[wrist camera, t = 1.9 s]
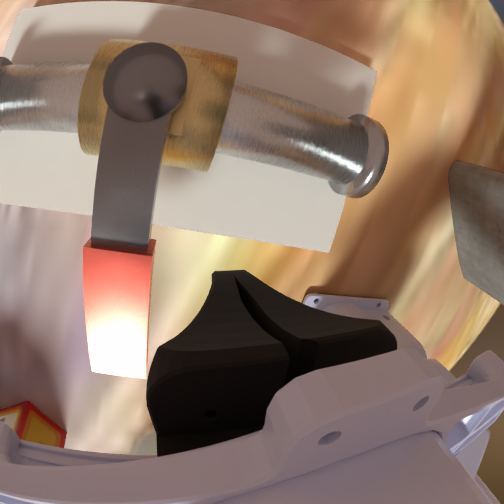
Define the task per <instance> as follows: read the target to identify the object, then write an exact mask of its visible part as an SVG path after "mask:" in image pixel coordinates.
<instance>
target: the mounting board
mask: <svg viewBox="0 0 504 504" xmlns="http://www.w3.org/2000/svg"><path fill="white" fill-rule="evenodd" d="M109 39H127V40H140V41H150V42H159V43H167V44H174V45H180V46H187V47H192V48H198V49H203V50H208V51H213V52H218V53H222V54H227V55H231V56H235V57H237V58H238V65H237V72H236V77H235V81H236V82H240V83H244V84H247V85H251V86H255V87H259V88H262V89H266V90H269V91H272V92H276V93H279V94H282V95H285V96H288V97H292V98H295V99H298V100H301V101H303V102H306V103H309V104H312V105H315V106H317V107H320V108H323V109H325V110H328V111H331V112H333V113H336V114H338V115H341V116H343V117H346V118H349V117H350V116H352V115H355V114H363V115H365V116H368V111H369V107H370V102H371V98H372V93H373V88H374V83H375V78H376V73H377V71H375V70H373V69H371V68H370V67H368V66H366V65H364V64H362V63H360V62H358V61H356V60H354V59H352V58H350V57H348V56H346V55H343V54H341V53H339V52H337V51H335V50H332V49H330V48H328V47H325V46H323V45H321V44H318V43H316V42H313V41H311V40H308V39H306V38H303V37H300V36H298V35H295V34H292V33H289V32H287V31H284V30H281V29H278V28H275V27H271V26H268V25H265V24H262V23H258V22H255V21H251V20H247V19H243V18H240V17H236V16H231V15H227V14H223V13H218V12H213V11H208V10H203V9H197V8H191V7H184V6H177V5H169V4H160V3H148V2H132V1H89V2H73V3H62V4H53V5H45V6H39V7H33V8H27V9H22V10H20V12H19V14H18V16H17V18H16V21H15V23H14V26H13V28H12V31H11V33H10V36H9V39H8V41H7V44H6V47H5V50H4V53H3V56H2V57H6V58H8V59H9V60H10V61H11V62H12V64H23V63H35V62H55V61H92V60H93V58H94V56H95V54H96V53H97V51H98V50H99V49H100V47H101V46H102V45H103V44H104V43H105V42H106V41H108V40H109ZM98 158H99V156H93V155H86V154H85V153H84V152H83V151H82V149H81V146H80V143H79V138H78V133H67V132H50V131H24V130H2V131H1V132H0V203H2V204H10V205H17V206H25V207H32V208H40V209H47V210H54V211H62V212H69V213H76V214H83V215H90V216H92V214H93V201H94V190H95V181H96V172H97V165H98ZM346 197H347V196H344V195H340V194H337V193H335V192H334V191H333V190H332V189H331V187H330V185H329V183H328V181H327V180H324V179H321V178H317V177H313V176H310V175H306V174H303V173H299V172H295V171H291V170H288V169H284V168H280V167H276V166H272V165H268V164H263V163H259V162H255V161H251V160H246V159H242V158H237V157H233V156H228V155H223V154H218V153H215V154H214V157H213V160H212V163H211V165H210V167H209V169H208V171H207V172H201V171H196V170H190V169H185V168H179V167H173V166H166V165H161V169H160V175H159V181H158V187H157V194H156V200H155V207H154V214H153V222H152V225H158V226H165V227H171V228H178V229H184V230H191V231H197V232H204V233H210V234H217V235H223V236H229V237H236V238H242V239H248V240H254V241H261V242H267V243H273V244H279V245H285V246H291V247H297V248H303V249H309V250H315V251H321V252H327V253H329V251H330V248H331V245H332V242H333V239H334V236H335V233H336V230H337V226H338V223H339V220H340V217H341V213H342V210H343V207H344V203H345V200H346Z"/></svg>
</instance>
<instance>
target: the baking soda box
mask: <svg viewBox="0 0 504 504" xmlns="http://www.w3.org/2000/svg"><path fill="white" fill-rule="evenodd" d="M0 421H2V422H4V423H6V424H7V425H9V426H10V427H11V428H12V429H13V430H14V431H15V432H16V434H17V435H18V437H19V438H20V439H21V440H25V441H29V442H34V443H38V444H43V445H48V446H54V447H59V448H64V445H65V439H66V434H67V433H66V432H65V431H63V430H62V429H61V428H60V427H58V426H57V425H56V424H55V423H53V422H52V421H51V420H50V419H49V418H47V417H46V416H45V415H44V414H43V413H41V412H40V411H39V410H38V409H37V408H36V407H35V406H33V405H32V404H31V403H30V402H29V401H26V402H23V403H20V404H17V405H14V406H11V407H8V408H5V409H2V410H0Z"/></svg>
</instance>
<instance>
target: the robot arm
mask: <svg viewBox="0 0 504 504" xmlns="http://www.w3.org/2000/svg"><path fill="white" fill-rule="evenodd" d="M315 299H317V300H316V301H314V300H315ZM377 304H378V305H377ZM389 305H390V302H389V301H388V300H387V299H375V298H361V297H349V296H336V295H325V294H314V293H310V294H307V295H306V296H305V298H304V301H303V303H300V302H298V301H295V300H293V299H291V298H289V297H287V296H285V295H283V294H282V293H280V292H278V291H276V290H275V289H273V288H271V287H270V286H268V285H267V284H265V283H263V282H262V281H260V280H259V279H258V278H256V277H255V276H253V275H252V274H250V273H249V272H247V271H245V270H233V271H215V272H213V273H212V285H211V288H210V291H209V294H208V296H207V299H206V301H205V303H204V305H203V306H202V308H201V310H200V311H199V313H198V314H197V316H196V317H195V318H194V319H193V321H192V322H191V323H190V324H189V325H188V326H187V327H186V328H185V329H184V330H183V331H182V332H181V333H180V334H178V335H177V336H176V337H174V338H173V339H171V340H169V341H168V342H166V343H164V344H163V345H161V346H159V347H158V349H157V351H156V353H155V356H154V358H153V361H152V364H151V367H150V371H149V375H148V380H147V392H146V400H147V407H148V411H149V414H150V417H151V420H152V423H153V425H154V428H155V431H156V434H157V455H123V454H108V453H97V452H87V451H79V450H72V449H65V448H59V447H54V446H48V445H43V444H38V443H34V442H29V441H25V440H21V439H20V438H19V437H18V435H17V434H16V432H15V431H14V430H13V429H12V428H11V427H10V426H9V425H7V424H6V423H4V422H2V421H0V504H500V503H499V501H498V500H497V499H496V497H495V496H494V495H493V494H492V492H491V491H490V490H489V489H488V487H487V486H486V485H485V484H484V482H483V481H482V480H481V479H480V477H479V476H478V475H477V470H478V468H479V465H480V463H481V460H482V457H483V455H484V452H485V449H486V446H487V443H488V440H489V437H490V431H489V429H488V427H489V426H490V425H491V424H492V423H493V422H495V420H496V419H497V418H498V417H499V415H500V414H501V413H502V411H503V410H504V362H503V361H502V360H501V359H500V358H499V357H498V356H497V355H496V354H494V353H493V352H492V351H491V350H488V351H486V352H484V353H483V354H481V355H479V356H478V357H477V358H475V359H474V361H473V362H472V364H471V365H470V367H469V369H468V371H467V373H466V374H464V375H463V376H461V377H459V378H457V379H456V378H455V377H454V376H453V375H452V374H451V373H450V372H449V371H448V370H447V369H446V368H445V367H444V366H443V365H442V364H441V363H439V362H438V361H437V360H435V359H428V360H427V356H426V353H425V350H424V348H423V346H422V345H421V343H420V342H419V341H418V340H417V339H416V338H415V337H414V336H413V335H412V334H411V333H410V332H409V331H408V330H406V329H405V328H404V327H403V326H402V325H401V324H400V323H399V322H398V321H397V320H396V319H395V318H394V317H393V316H392V315H391V314H390V313H389V312H388V311H387V309H388V307H389Z"/></svg>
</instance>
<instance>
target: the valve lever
mask: <svg viewBox="0 0 504 504" xmlns="http://www.w3.org/2000/svg"><path fill="white" fill-rule="evenodd" d="M187 76H188V75H187V68H186V65H185V62H184V60H183V59H182V57H181V56H180V55H179V53H178V52H176V51H175V50H174V49H173V48H171V47H169V46H167V45H164V44H161V43H156V42H146V43H140V44H137V45H134V46H131V47H129V48H127V49H126V50H124V51H123V52H121V53H120V54H119V55H118V56H117V57H116V58H115V59H114V60H113V61H112V62H111V64H110V65H109V67H108V69H107V71H106V73H105V76H104V80H103V94H104V98H105V101H106V103H107V105H108V108H107V113H106V117H105V122H104V128H103V133H102V139H101V145H100V151H99V158H98V165H97V172H96V181H95V190H94V201H93V214H92V231H91V238H90V239H89V240H88V242H87V243H86V244H85V245H84V246H83V284H84V304H85V318H86V329H87V338H88V347H89V354H90V362H91V368H92V371H93V372H99V373H105V374H111V375H118V376H126V377H134V378H142V379H146V373H147V359H148V335H149V314H150V299H151V286H152V274H153V264H154V254H155V245H156V240H154V239H151V230H152V222H153V214H154V207H155V200H156V194H157V187H158V181H159V175H160V169H161V164H162V158H163V153H164V148H165V143H166V138H167V133H168V128H169V123H170V119H171V115H172V114H173V113H174V112H175V111H176V110H177V109H178V108H179V106H180V105H181V103H182V102H183V99H184V97H185V94H186V89H187Z"/></svg>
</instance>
